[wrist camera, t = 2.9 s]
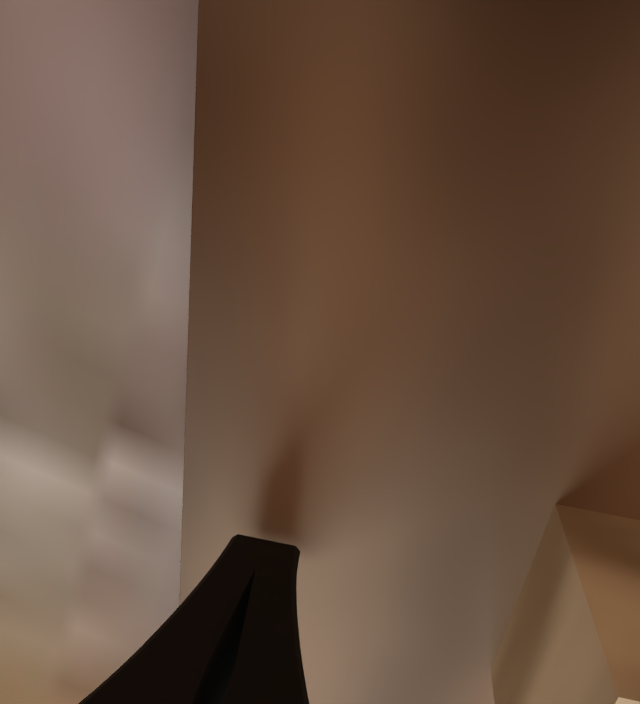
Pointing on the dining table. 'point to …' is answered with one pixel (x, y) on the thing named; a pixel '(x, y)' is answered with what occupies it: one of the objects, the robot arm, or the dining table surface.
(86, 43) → the dining table surface
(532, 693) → the maple block
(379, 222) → the walnut box
